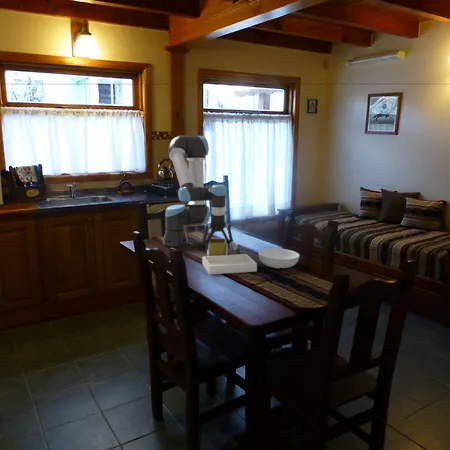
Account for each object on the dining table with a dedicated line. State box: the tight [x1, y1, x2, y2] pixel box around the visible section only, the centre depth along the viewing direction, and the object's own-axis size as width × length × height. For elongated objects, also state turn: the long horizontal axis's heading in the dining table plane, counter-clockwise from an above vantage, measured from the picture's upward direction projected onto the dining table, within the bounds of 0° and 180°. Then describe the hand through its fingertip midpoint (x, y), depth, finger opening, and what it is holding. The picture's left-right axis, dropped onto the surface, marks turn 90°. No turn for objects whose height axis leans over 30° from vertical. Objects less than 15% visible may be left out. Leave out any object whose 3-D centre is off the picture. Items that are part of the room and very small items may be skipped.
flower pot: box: [209, 238, 227, 256], centre depth 232 cm, size 9×9×9 cm
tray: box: [201, 253, 258, 275], centre depth 217 cm, size 17×24×4 cm
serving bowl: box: [258, 247, 300, 269], centre depth 221 cm, size 21×21×7 cm
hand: (217, 254), depth 232 cm, fingers closed on flower pot, 9 cm apart
